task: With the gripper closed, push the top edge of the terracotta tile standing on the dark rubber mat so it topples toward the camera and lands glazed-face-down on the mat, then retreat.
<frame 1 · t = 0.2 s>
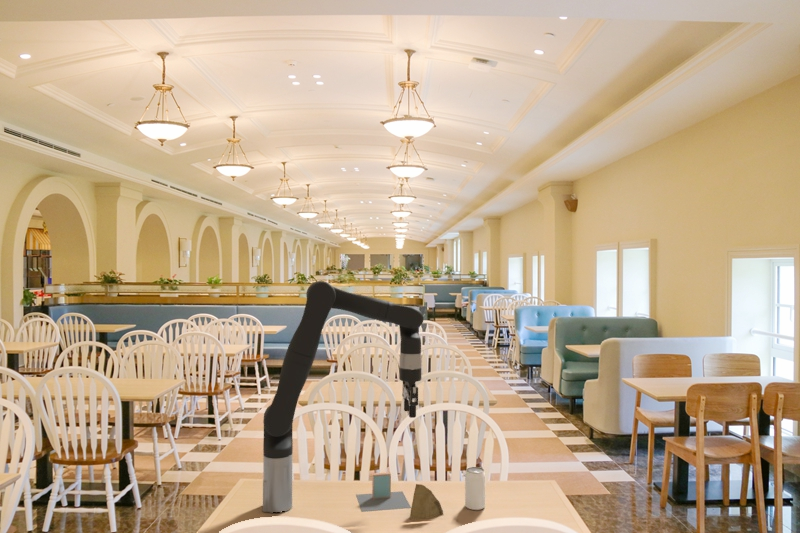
hand: (409, 414, 199), 28 cm above the table, fingers open, 8 cm apart
tile: (381, 497, 197), point 1 cm above the table, touching mat
rock: (426, 518, 183), on the table
mat: (382, 502, 194), on the table
can: (475, 507, 191), on the table
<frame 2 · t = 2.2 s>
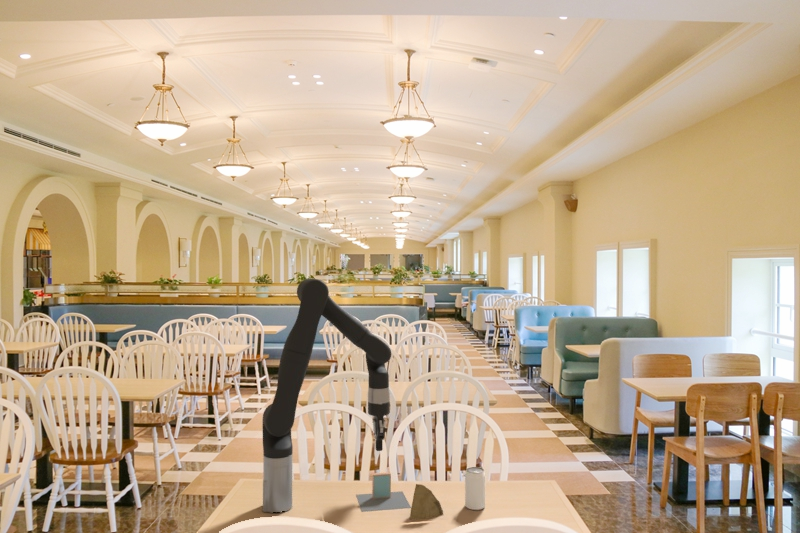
hand: (379, 450, 203), 15 cm above the table, fingers closed
nothing on the table moved.
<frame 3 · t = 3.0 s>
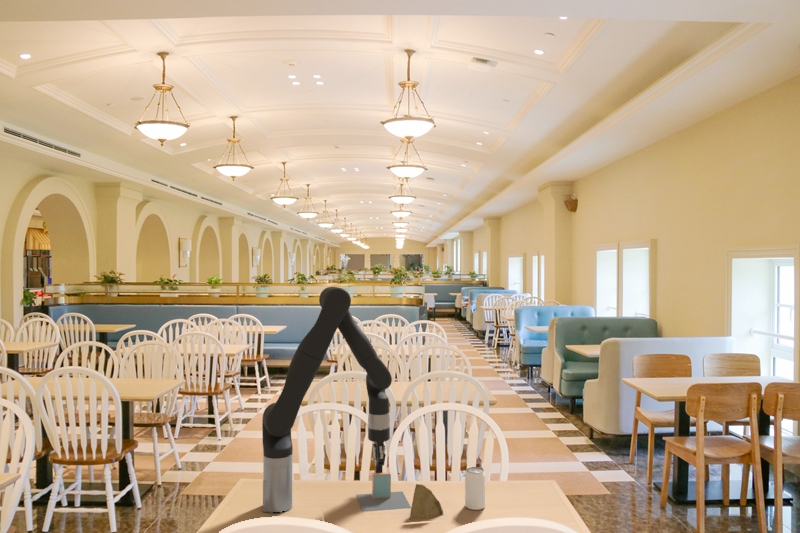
hand: (379, 475, 203), 6 cm above the table, fingers closed
nothing on the table moved.
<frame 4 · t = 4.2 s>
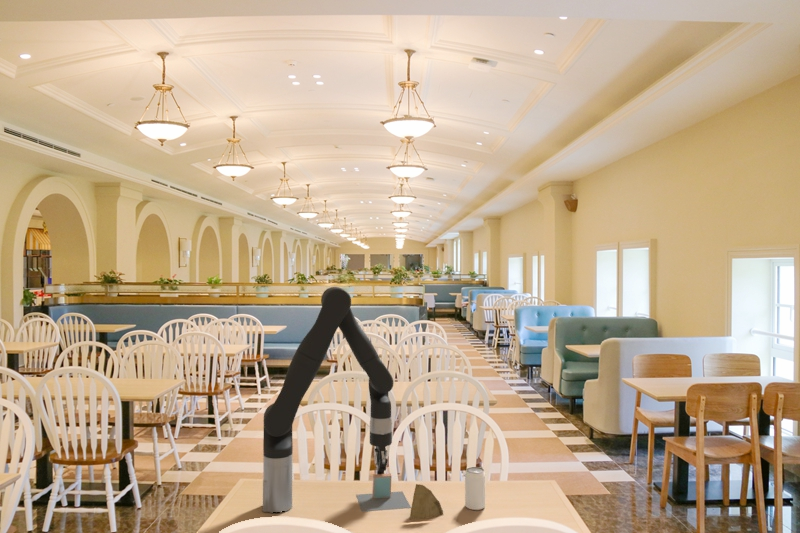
hand: (380, 481, 199), 5 cm above the table, fingers closed
tile: (381, 497, 197), point 1 cm above the table, tilted 10°, touching mat
everything else where it was.
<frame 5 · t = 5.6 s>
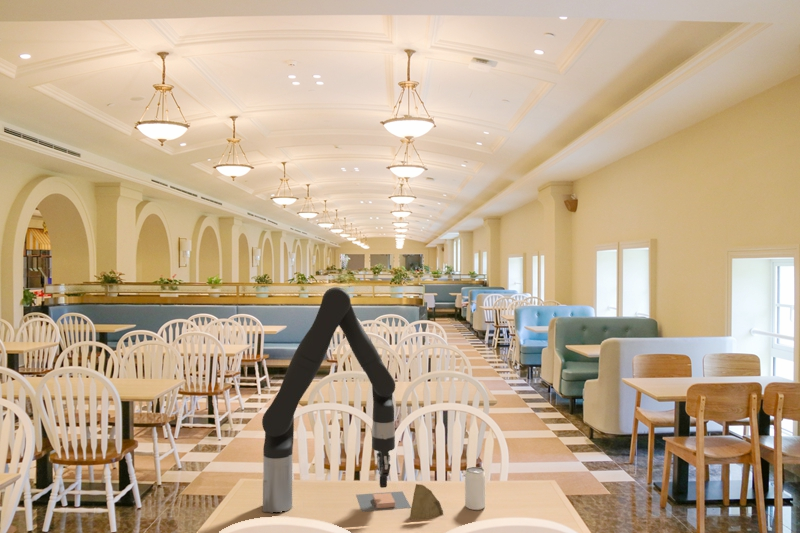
hand: (383, 486, 193), 6 cm above the table, fingers closed
tile: (381, 495, 196), point 1 cm above the table, tilted 90°, touching mat
everything else where it was.
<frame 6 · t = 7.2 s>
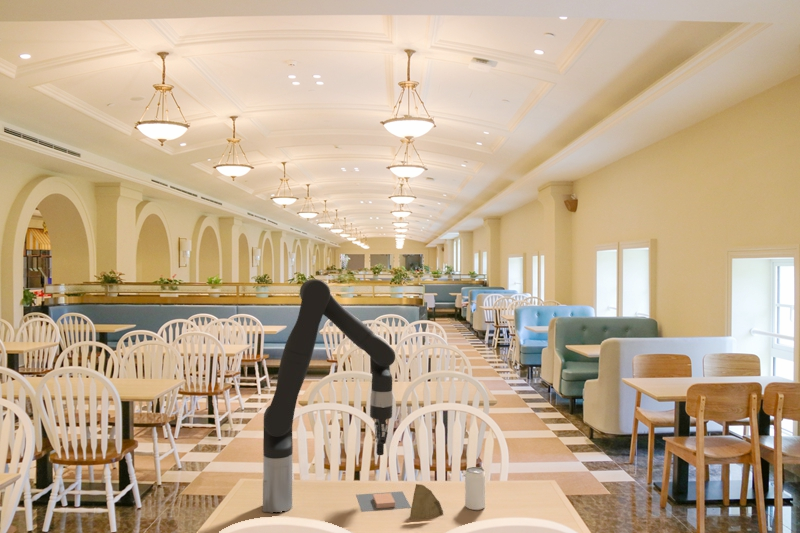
hand: (379, 454, 199), 14 cm above the table, fingers closed
nothing on the table moved.
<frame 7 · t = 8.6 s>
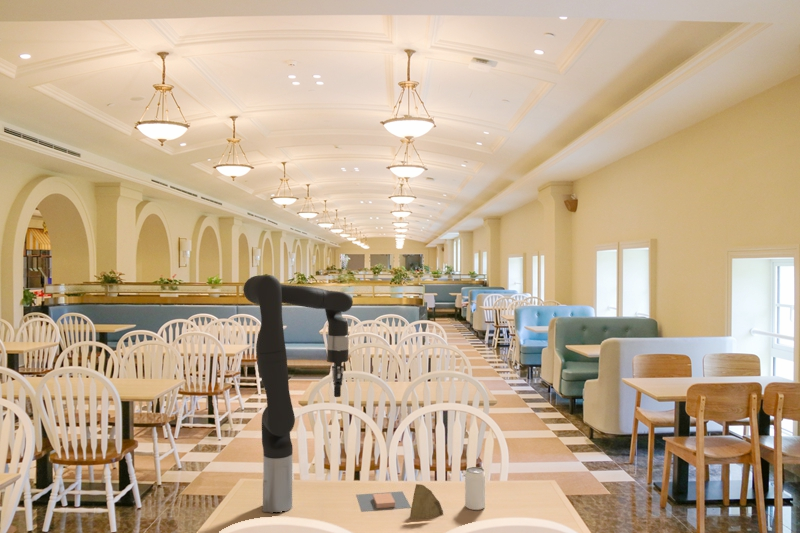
hand: (337, 396, 209), 32 cm above the table, fingers closed
nothing on the table moved.
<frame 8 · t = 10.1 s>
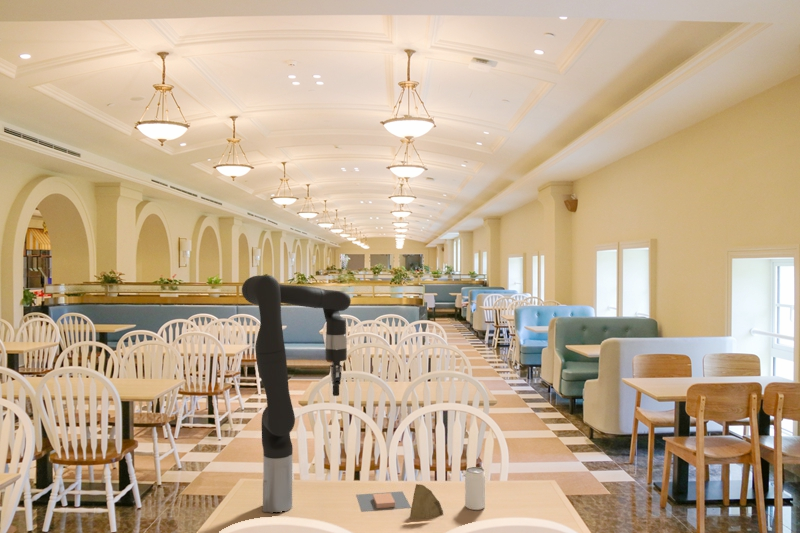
hand: (335, 395, 209), 32 cm above the table, fingers closed
nothing on the table moved.
at the end: tile tilted 90°; tile inside the target area on the mat (2.6 cm from its centre), point 1.5 cm above the mat's base; the gripper is holding nothing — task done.
